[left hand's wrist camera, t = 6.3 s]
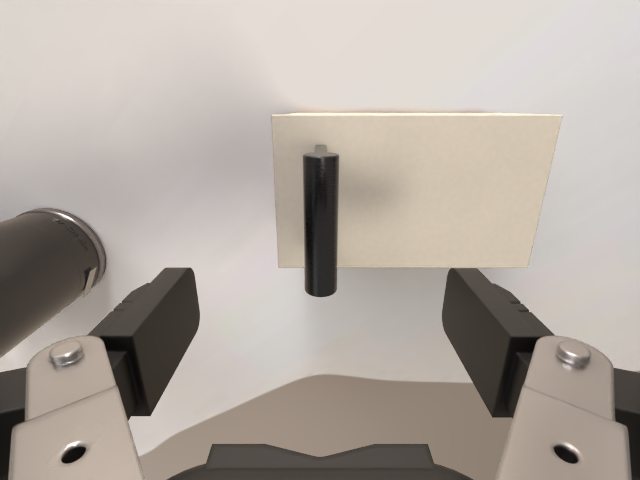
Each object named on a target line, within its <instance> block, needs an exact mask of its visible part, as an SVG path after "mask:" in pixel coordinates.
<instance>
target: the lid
mask: <svg viewBox="0 0 640 480" xmlns="http://www.w3.org/2000/svg"><path fill="white" fill-rule="evenodd" d="M561 120H562V115H272V138H273V159H274V181H275V203H276V225H277V247H278V267H279V268H305V291H306V292H307V293H308V294H309V295H312V296H316V297H326V296H330V295H332V294H334V293H335V292H336V290H337V268H528V264H529V259H530V255H531V251H532V246H533V242H534V238H535V233H536V229H537V224H538V220H539V216H540V211H541V207H542V203H543V198H544V194H545V190H546V185H547V181H548V177H549V172H550V168H551V164H552V159H553V155H554V151H555V146H556V142H557V138H558V133H559V129H560V125H561Z"/></svg>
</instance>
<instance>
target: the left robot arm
mask: <svg viewBox="0 0 640 480" xmlns="http://www.w3.org/2000/svg"><path fill="white" fill-rule="evenodd" d="M104 270H105V254H104V250H103V247H102V245H101V243H100V241H99V239H98V237H97V236H96V235H95V233H94V232H93V231H92V230H91V229H90V228H89V227H88V226H87V225H86V224H85V223H84V222H83V221H81V220H80V219H78V218H77V217H75V216H73V215H71V214H69V213H67V212H64V211H61V210H57V209H51V208H40V209H34V210H31V211H28V212H25V213H22V214H20V215H18V216H17V217H15V218H12V219H9V220H6V221H3V222H0V358H1V357H2V356H4V355H5V354H6V353H7V352H9V351H10V350H11V349H13V348H14V347H15V346H16V345H18V344H19V343H20V342H22V341H23V340H24V339H25V338H27V337H28V336H29V335H31V334H32V333H33V332H34V331H36V330H37V329H38V328H40V327H41V326H42V325H43V324H45V323H46V322H47V321H48V320H50V319H51V318H52V317H54V316H55V315H56V314H57V313H59V312H60V311H61V310H63V309H64V308H65V307H66V306H68V305H69V304H71V303H72V302H73V301H74V300H76V299H77V298H78V297H79V296H81V295H82V294H84V296H83V297H85V296H86V295H87V294H88V293H90V290H91V288H93V287H94V286H95V285H96V284H97V283H98V282H99V281H100V279H101V278H102V276H103V273H104ZM199 320H200V311H199V304H198V297H197V289H196V282H195V276H194V272H193V270H192V269H191V268H165V269H164V270H163V271H162V272H161V273H160V274H159V275H158V276H157V277H156V278H155V279H154V280H153V281H152V282H151V283H147V284H145V285H143V286H141V287H139V288H137V289H136V290H134V291H132V292H131V293H130V294H129V295H128V296H127V297H126V298H125V299H124V300H123V301H122V303H120V304H119V305H118V306H117V307H116V308H115V309H114V311H112V312H111V313H110V314H109V315H107V316H106V317H105V318H104V319H103V320H102V321H101V322H100V323H99V324H98V325H97V326H96V327H95V328H94V329H93V330H92V331H91V332H90V333H89V334H88V335H87V336H77V337H72V338H68V339H65V340H62V341H59V342H57V343H54V344H52V345H50V346H48V347H46V348H45V349H43V350H41V351H40V352H39V353H37V354H36V355H35V356H34V357H33V358H32V359H31V360H30V361H29V363H28V365H27V367H26V368H21V369H15V370H10V371H5V372H0V480H145V477H144V474H143V471H142V467H141V464H140V461H139V457H138V454H137V450H136V447H135V444H134V440H133V437H132V433H131V430H130V427H129V423H128V420H129V419H130V417H131V416H151V414H152V412H153V410H154V408H155V407H156V405H157V403H158V401H159V399H160V397H161V396H162V394H163V392H164V390H165V388H166V387H167V385H168V383H169V381H170V379H171V378H172V376H173V374H174V372H175V370H176V368H177V367H178V365H179V363H180V361H181V359H182V358H183V356H184V354H185V352H186V350H187V348H188V347H189V345H190V343H191V341H192V339H193V338H194V336H195V334H196V332H197V330H198V326H199ZM442 322H443V327H444V331H445V333H446V335H447V337H448V338H449V340H450V342H451V344H452V346H453V347H454V349H455V351H456V353H457V355H458V356H459V358H460V360H461V362H462V363H463V365H464V367H465V369H466V371H467V372H468V374H469V376H470V378H471V380H472V381H473V383H474V385H475V387H476V389H477V390H478V392H479V394H480V396H481V398H482V399H483V401H484V403H485V405H486V407H487V408H488V410H489V412H490V414H491V415H492V417H512V418H513V420H512V424H511V427H510V430H509V434H508V437H507V440H506V444H505V447H504V450H503V454H502V457H501V460H500V464H499V467H498V471H497V474H496V477H495V480H640V373H637V372H632V371H627V370H622V369H617V368H613V365H612V363H611V361H610V360H609V359H608V358H607V357H606V356H605V355H604V354H603V353H601V352H600V351H599V350H597V349H595V348H594V347H592V346H590V345H588V344H586V343H583V342H581V341H578V340H575V339H572V338H568V337H563V336H555V335H554V334H553V333H552V332H551V331H550V330H549V329H548V328H547V327H546V326H545V325H544V324H543V323H542V322H541V321H540V320H539V319H538V318H537V317H535V316H534V315H533V314H532V313H531V312H529V310H528V309H527V308H526V307H525V306H524V305H523V304H520V301H519V300H518V299H517V298H516V297H515V296H514V295H513V294H512V293H511V292H509V291H507V290H506V289H504V288H502V287H500V286H498V285H496V284H492V283H491V282H490V281H489V280H488V279H487V278H486V277H485V276H484V275H483V274H482V273H481V272H480V271H479V270H478V269H476V268H451V269H450V270H449V272H448V276H447V282H446V289H445V296H444V303H443V310H442ZM167 480H473V479H471V478H469V477H468V476H465V475H463V474H461V473H459V472H457V471H455V470H452V469H449V468H447V467H444V466H441V465H437V464H434V462H433V459H432V456H431V453H430V450H429V447H428V444H373V445H369V446H366V447H361V448H357V449H353V450H349V451H345V452H342V453H337V454H333V455H329V456H325V457H315V456H311V455H307V454H303V453H299V452H295V451H291V450H287V449H283V448H279V447H275V446H271V445H267V444H212V447H211V450H210V453H209V456H208V459H207V462H206V464H203V465H199V466H196V467H193V468H191V469H188V470H185V471H183V472H181V473H179V474H177V475H175V476H172V477H171V478H169V479H167Z"/></svg>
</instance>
